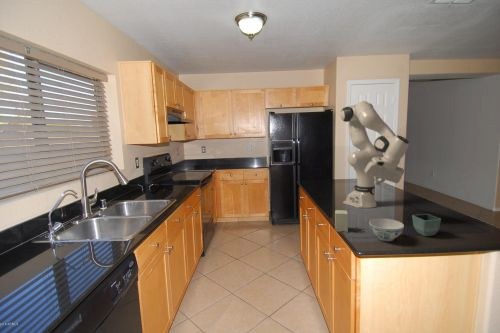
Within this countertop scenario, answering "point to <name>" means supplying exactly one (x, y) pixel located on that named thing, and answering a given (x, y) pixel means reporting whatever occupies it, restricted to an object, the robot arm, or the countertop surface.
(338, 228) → the sage block
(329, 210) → the countertop surface
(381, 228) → the chinaware
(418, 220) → the flower pot
